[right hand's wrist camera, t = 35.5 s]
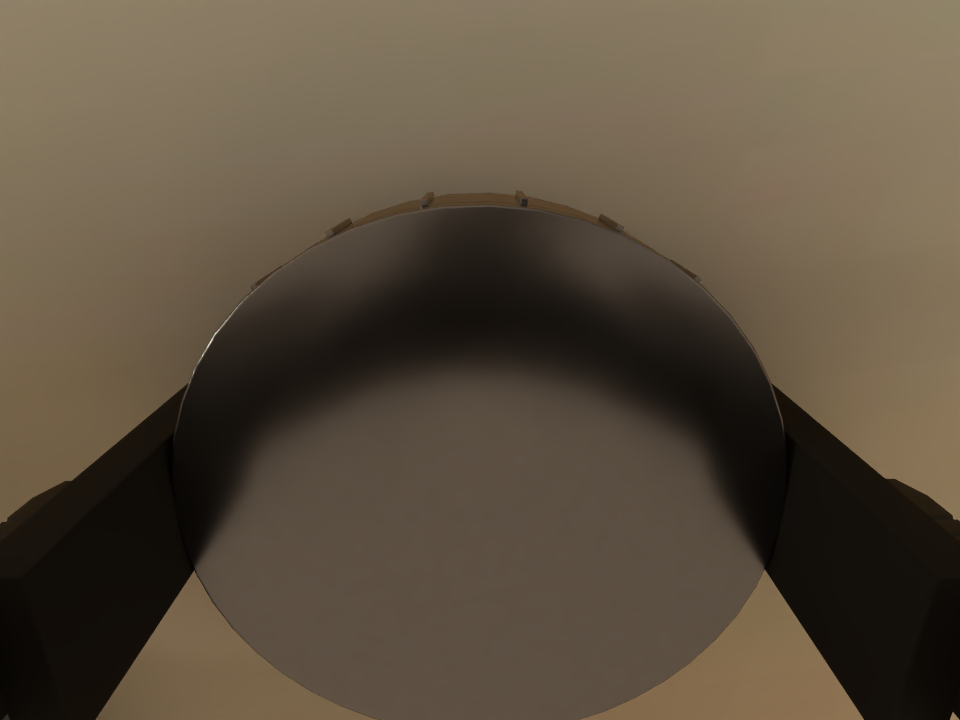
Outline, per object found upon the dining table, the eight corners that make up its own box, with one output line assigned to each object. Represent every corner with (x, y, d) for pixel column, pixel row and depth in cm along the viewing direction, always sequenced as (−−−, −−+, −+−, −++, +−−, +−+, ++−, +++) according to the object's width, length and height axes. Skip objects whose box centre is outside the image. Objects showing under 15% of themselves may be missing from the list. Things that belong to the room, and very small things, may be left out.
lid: (550, 720, 15) (561, 803, 13) (136, 529, 13) (78, 595, 11) (858, 383, 12) (928, 429, 10) (370, 60, 10) (345, 40, 8)
